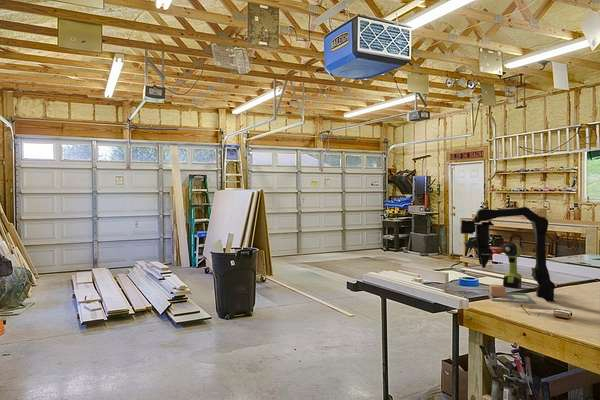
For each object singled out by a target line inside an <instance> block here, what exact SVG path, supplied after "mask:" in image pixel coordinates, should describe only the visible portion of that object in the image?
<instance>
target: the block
mask: <svg viewBox="0 0 600 400" xmlns="http://www.w3.org/2000/svg"><path fill="white" fill-rule="evenodd" d="M489 291H490V294H491V296H492V297H494V296H501V297H500V298H506V297H505V292H506V287H504V286H503V284H489Z"/></svg>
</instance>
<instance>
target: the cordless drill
mask: <svg viewBox="0 0 600 400" xmlns="http://www.w3.org/2000/svg"><path fill="white" fill-rule="evenodd" d="M503 251H504V254H505V256H506V257H507V258H508V263H509V266H508V267H509V271H508V272H507V273H505V274H504V276H503V279H502V280H503V281H502V285H503V286H504V287H505V288H509V289H521V288H522V277H523V276H522V275H523V274H521V273H519V272H518V267H517V266H518V261H517V258H518V257H519V256H521V254H522V253H523V252H522V251H523V250H522V248H521V246H520V245H519V244H518V243H516V242H511V241H510V242H507V243H506V244H505V245H504V247H503Z"/></svg>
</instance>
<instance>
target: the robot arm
mask: <svg viewBox="0 0 600 400" xmlns="http://www.w3.org/2000/svg"><path fill="white" fill-rule="evenodd" d="M517 216H518V217H519V216H523V217H524V218H526V219H527V220H528V222H529V221H530V222H531V226H532V230H533V233H534V240H535V241H534V242H535V247H534V248H535V265H534V267H531V275H530V276H532V277H533V280H534V281H535V282H536V283H537V285H538V286H537V288H536V291H535V293H536V297H537V298H542V299H543V300H544V301H546V302H550V303H551V302H552V303H553V302H554V303H555V302H556V300H555V288H556V284H555V283H554V282H553V281H552V280H551V276H550V272H549V270H548V267H547V253H546V252H547V251H546V234H547V232H548V228H549V220H548V218H546V217H544V216H540V215H538V214H537V213H536V212H534V211H532V210H531V209H530V208H529V207H526V206H521V207H513V208H502V209H491V208H490V209H489V208H480V209H478V210H477V211H476V215H475V217H474V218H473V219H471V220H465V219H462V220H461V223H460V226H459V227H460V228H459V229H460V234H461V235H462V234H463V235H474V233H476V236H474V239H473V238H472V239H469V240H467V241H464V242H463V243H464V246H465V249H467V250H469V249H471V248H473V250H474V251H475V253H476V254H477V259H478V262H479V263H478V264H479V265H481V268H482V269H485V268H486V266H487V264H488V262H489V261H490V258H491V257H492V255H493V249H491V247H490V240H491V239H490V238H491V237H490V227H491V226H494V225H495V224H494V223H493V222H492V221H491V220H494V219H497V218H505V217H517Z"/></svg>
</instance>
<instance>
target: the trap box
mask: <svg viewBox="0 0 600 400" xmlns="http://www.w3.org/2000/svg"><path fill="white" fill-rule="evenodd" d="M485 292H486V294H487V296H488V297H489V299H490V300H491V301H492V302H502V303H505V302H507V303H515V304H516V303H520V304H533V305H535V304H536V301H535V300H534V299H533V298H532V297H531V296H530V295H529V294H527V293H523V292H521V293H520V292H508V291H507V292H506V291H505V297H504V298H507V299H502V297H501V296H491V294H490V290H489V291H488V290H487V291H485ZM494 297H497V298H494ZM500 298H501V299H500ZM514 299H515V300H514ZM516 299H517V300H516ZM518 299H519V300H518Z"/></svg>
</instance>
